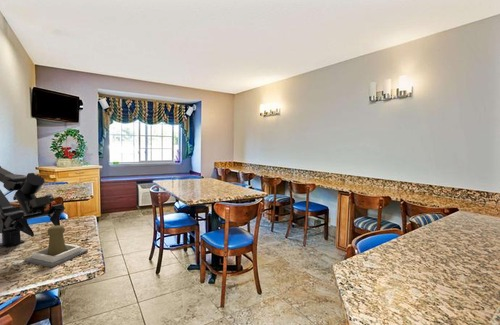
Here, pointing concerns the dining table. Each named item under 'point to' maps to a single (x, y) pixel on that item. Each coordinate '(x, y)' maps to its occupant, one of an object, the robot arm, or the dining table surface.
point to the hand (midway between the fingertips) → (46, 232)
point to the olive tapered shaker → (56, 240)
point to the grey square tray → (51, 261)
